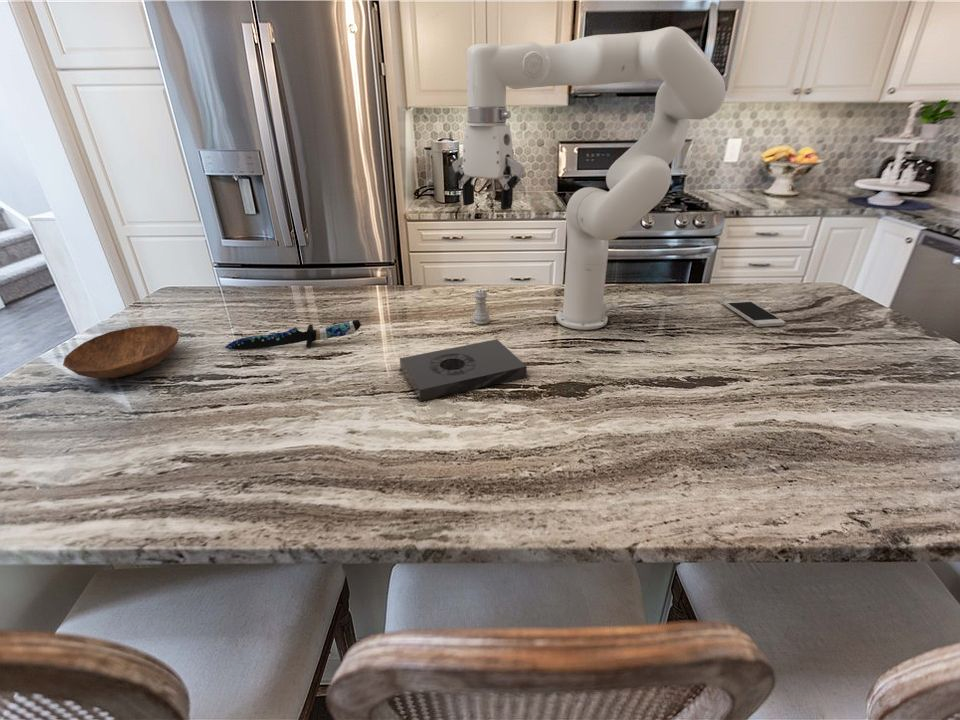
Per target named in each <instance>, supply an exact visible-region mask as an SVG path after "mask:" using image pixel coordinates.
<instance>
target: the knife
mask: <svg viewBox="0 0 960 720" xmlns="http://www.w3.org/2000/svg"><path fill="white" fill-rule="evenodd" d="M361 326H362V323H361V322H360V319H354V320H349V321H345V322H343V323H339V324H335V325H330V326H327V327H324V328H319V329H314V325H313V324H308V327H307V329H306V331H301V330H298V328H297V327H296V326H295V327H293V328H291V329H289V330H286V331H282V332H277V333H271V334H262V335H253V336H252V335H251V336H246V337H245V336H244V337H241V338H237V339H235V340H233V341H231V342H229V343H228V344H227V345H226V346H225V349H228V350H237V351H238V350H239V351H240V350H254V349H265V348H273V347H279V346H285V345H292V344H297V343H302V342H306V348H310V347H311V345H312V343H313V342H317V341H321V340H326V339H327V340H328V339H332V338H337V337H343V336H348V335H349V336H350V335H354V334H355V333H356V332H358V330H359V329H360V328H361Z"/></svg>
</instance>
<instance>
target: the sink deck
mask: <svg viewBox="0 0 960 720" xmlns="http://www.w3.org/2000/svg"><path fill="white" fill-rule="evenodd" d="M399 367H400V370H401V372H402V374H403V375H404V377H405V378H406V380H407V382H408V384H409V385H410V387H411V388H412V390H413V392H414V393H415V395H416V397H417V399H418V400H419V402H423V401H429V400H433V399H437V398H442V397H447V396H451V395H455V394H459V393H463V392H464V393H465V392H468V391H473V390H477V389H481V388H485V387H489V386H494V385H499V384H503V383H507V382H512V381H516V380H521V379H526V378H527V372H528V370H527V367H528V366H527V365H526V364H525V363H524V362H522V360H521V359H519V358H518V356H516V355H515V354H514V353H513V352H511V350H510V349H509V348H508V347H507V346H505V345H504V344H503V343H502V342H501V341H500V340H498V339H491V340H485V341H481V342H475V343H471V344H466V345H460V346H455V347H451V348H445V349H440V350H435V351H430V352H425V353H420V354H415V355H410V356H409V355H408V356H404V357H400V358H399Z"/></svg>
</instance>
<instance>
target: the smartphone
mask: <svg viewBox="0 0 960 720" xmlns="http://www.w3.org/2000/svg"><path fill="white" fill-rule="evenodd" d="M723 305H724V306H725V307H727V308H728V309H729V310H731V311H733V312H734V313H735V314H737V315H738V316H740V317H742V318H743V319H745V320H746V321H748V322H749V323H751V324H752V325H754V326H755V327H757V328H760V327H762V328H763V327H776V326H777V327H778V326H785V324H786V321H785V320H783V319H782V318H780V317H778V316H777V315H776V314H773V313H772V312H770V311H768V310H766V309H765V308H764V307H761V306H760V305H758V304H756V303H755V302H753V301H752V300H749V299H741V300H740V299H739V300H724V301H723Z"/></svg>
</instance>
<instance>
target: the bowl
mask: <svg viewBox="0 0 960 720" xmlns="http://www.w3.org/2000/svg"><path fill="white" fill-rule="evenodd" d="M179 337H180V335H179V331H178V329H177V328H176V327H173V326H170V325H141V326H133V327H132V326H131V327H127V328H122V329H117V330H113V331H108V332H106V333H103V334H100V335H98V336H95V337H92V338H91V339H89V340H87V341H85V342H82V343H81V344H80V345H78V346H77V347H75V348H74V349H72V350H71V351H70V352H69V353H68V354H67V355H66V356H64V360H63V363H62V366H63V367H65V368H66V369H68V370H69V371H71V372H73V373H74V374H76V375H78V376H82V377H87V378H93V379H115V378H120V377H127V376H133V375H135V374H138V373H141V372H144V371H146V370H148V369H151V368H153V367H154V366H156V365H158V364H160V363H161V362H162V361H164V359H165V358H166V357H167V356H169V354H170V353H172V352H173V350H175V347H176V345H177V343H178V342H179Z"/></svg>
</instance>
